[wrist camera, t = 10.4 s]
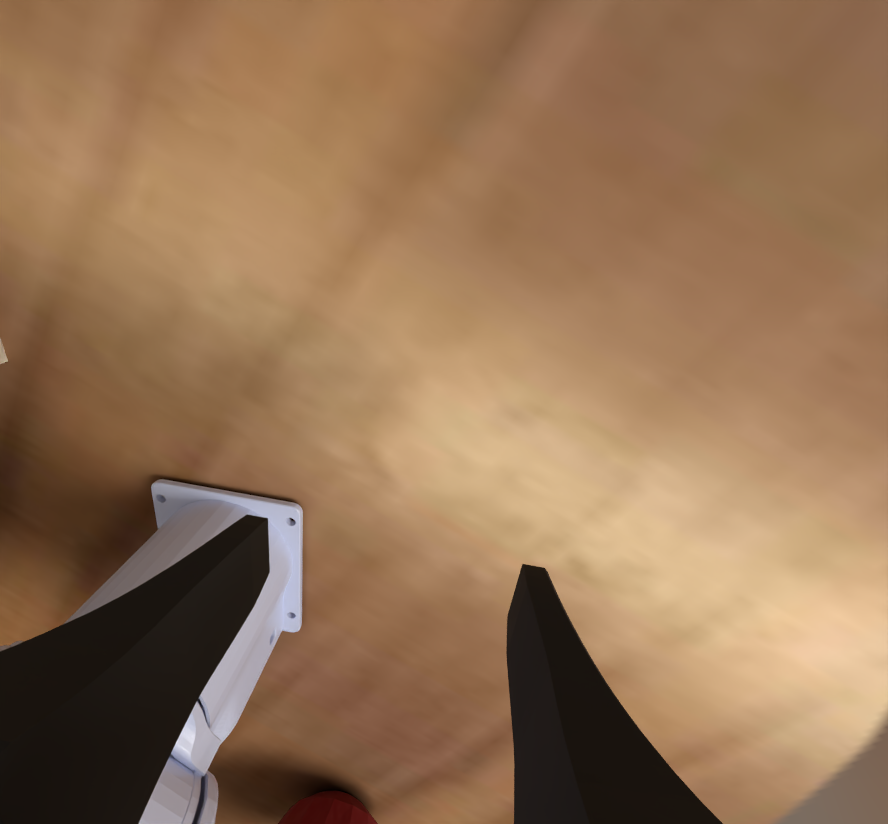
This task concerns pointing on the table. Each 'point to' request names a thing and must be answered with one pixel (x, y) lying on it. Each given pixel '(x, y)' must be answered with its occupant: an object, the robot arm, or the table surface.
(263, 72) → the table surface
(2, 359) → the birch block
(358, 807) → the apple
